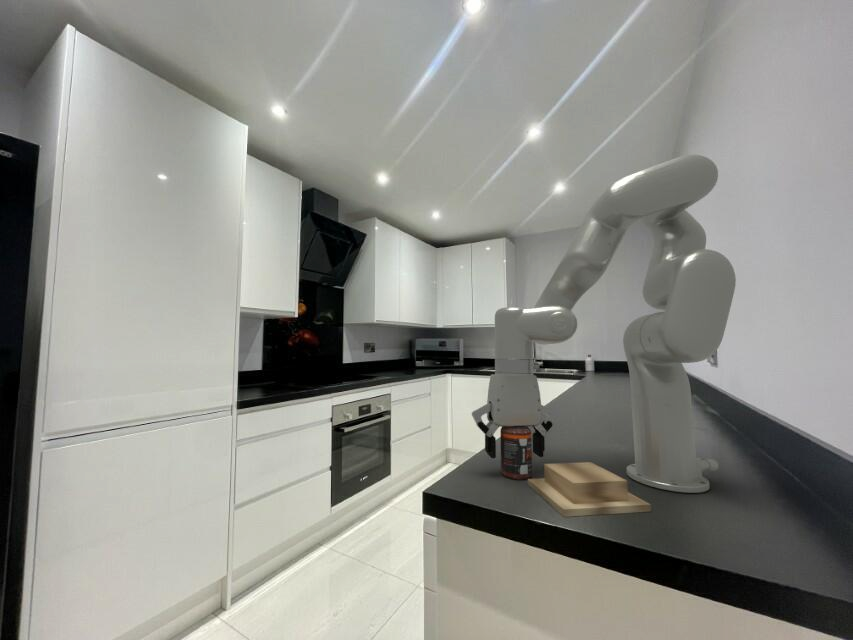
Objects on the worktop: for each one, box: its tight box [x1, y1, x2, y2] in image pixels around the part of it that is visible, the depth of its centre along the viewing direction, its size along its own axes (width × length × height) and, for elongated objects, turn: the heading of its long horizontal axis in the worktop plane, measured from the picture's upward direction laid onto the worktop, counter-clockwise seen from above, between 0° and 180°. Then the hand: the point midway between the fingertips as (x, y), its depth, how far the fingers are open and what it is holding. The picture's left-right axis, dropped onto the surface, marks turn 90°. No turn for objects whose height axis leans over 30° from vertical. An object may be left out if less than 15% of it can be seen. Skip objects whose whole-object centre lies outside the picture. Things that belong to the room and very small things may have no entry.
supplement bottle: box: [499, 426, 533, 480], centre depth 65 cm, size 6×6×11 cm
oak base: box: [527, 461, 652, 518], centre depth 54 cm, size 14×12×4 cm
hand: (514, 455), depth 65 cm, fingers open, 9 cm apart
